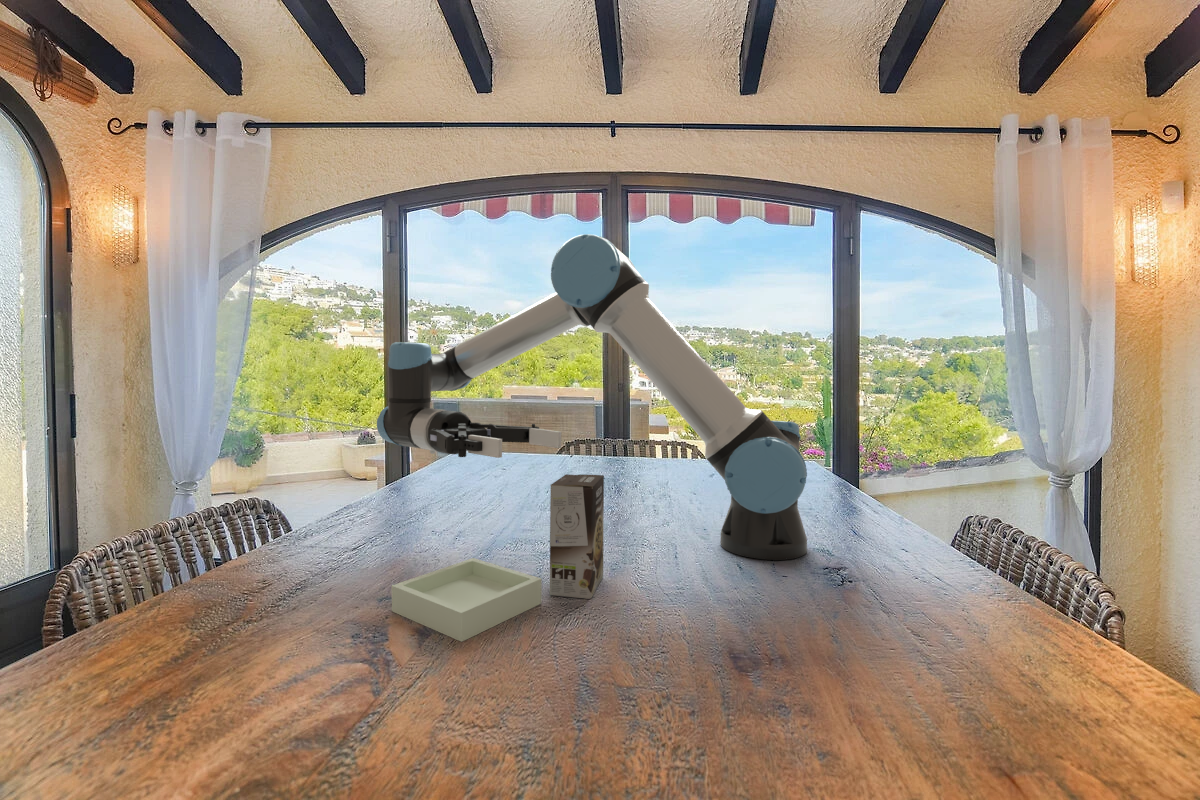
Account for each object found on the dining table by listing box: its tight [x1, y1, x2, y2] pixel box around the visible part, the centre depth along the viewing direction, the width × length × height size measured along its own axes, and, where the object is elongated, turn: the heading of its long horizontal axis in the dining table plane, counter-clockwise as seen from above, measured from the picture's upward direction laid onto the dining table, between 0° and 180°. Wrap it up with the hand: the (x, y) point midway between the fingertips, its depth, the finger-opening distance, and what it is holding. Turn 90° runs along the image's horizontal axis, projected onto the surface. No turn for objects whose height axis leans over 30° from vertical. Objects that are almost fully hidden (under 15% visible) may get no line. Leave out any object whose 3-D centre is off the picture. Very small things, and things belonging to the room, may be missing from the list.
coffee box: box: [549, 474, 605, 600], centre depth 86 cm, size 9×6×16 cm
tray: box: [391, 557, 543, 643], centre depth 78 cm, size 14×14×4 cm
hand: (532, 443), depth 91 cm, fingers open, 13 cm apart
